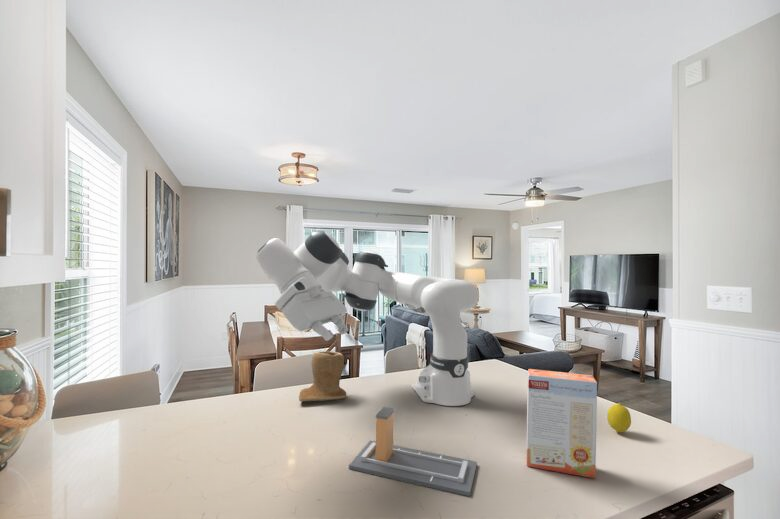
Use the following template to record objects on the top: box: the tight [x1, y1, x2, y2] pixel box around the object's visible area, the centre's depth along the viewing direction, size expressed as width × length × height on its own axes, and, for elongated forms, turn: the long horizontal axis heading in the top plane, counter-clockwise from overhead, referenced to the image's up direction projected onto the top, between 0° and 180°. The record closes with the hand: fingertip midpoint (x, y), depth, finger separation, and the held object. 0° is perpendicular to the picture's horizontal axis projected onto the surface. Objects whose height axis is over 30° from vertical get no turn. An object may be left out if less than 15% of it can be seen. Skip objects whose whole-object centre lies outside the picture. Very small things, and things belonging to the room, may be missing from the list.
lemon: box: [606, 403, 632, 434], centre depth 104 cm, size 6×6×8 cm
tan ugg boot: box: [298, 351, 347, 402], centre depth 124 cm, size 15×12×15 cm
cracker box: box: [526, 368, 598, 479], centre depth 86 cm, size 14×6×21 cm, turn 71°
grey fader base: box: [348, 440, 478, 497], centre depth 85 cm, size 26×12×2 cm, turn 71°
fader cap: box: [375, 406, 396, 462], centre depth 87 cm, size 3×5×10 cm, turn 161°
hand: (338, 335), depth 91 cm, fingers open, 6 cm apart
